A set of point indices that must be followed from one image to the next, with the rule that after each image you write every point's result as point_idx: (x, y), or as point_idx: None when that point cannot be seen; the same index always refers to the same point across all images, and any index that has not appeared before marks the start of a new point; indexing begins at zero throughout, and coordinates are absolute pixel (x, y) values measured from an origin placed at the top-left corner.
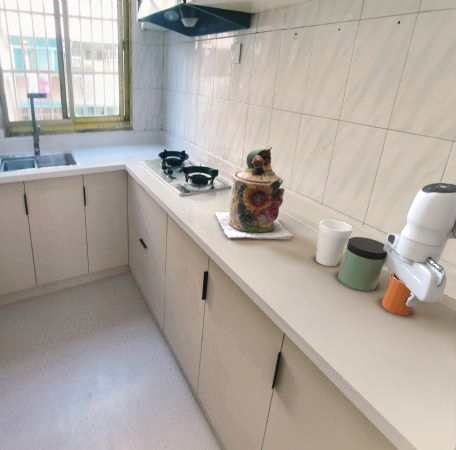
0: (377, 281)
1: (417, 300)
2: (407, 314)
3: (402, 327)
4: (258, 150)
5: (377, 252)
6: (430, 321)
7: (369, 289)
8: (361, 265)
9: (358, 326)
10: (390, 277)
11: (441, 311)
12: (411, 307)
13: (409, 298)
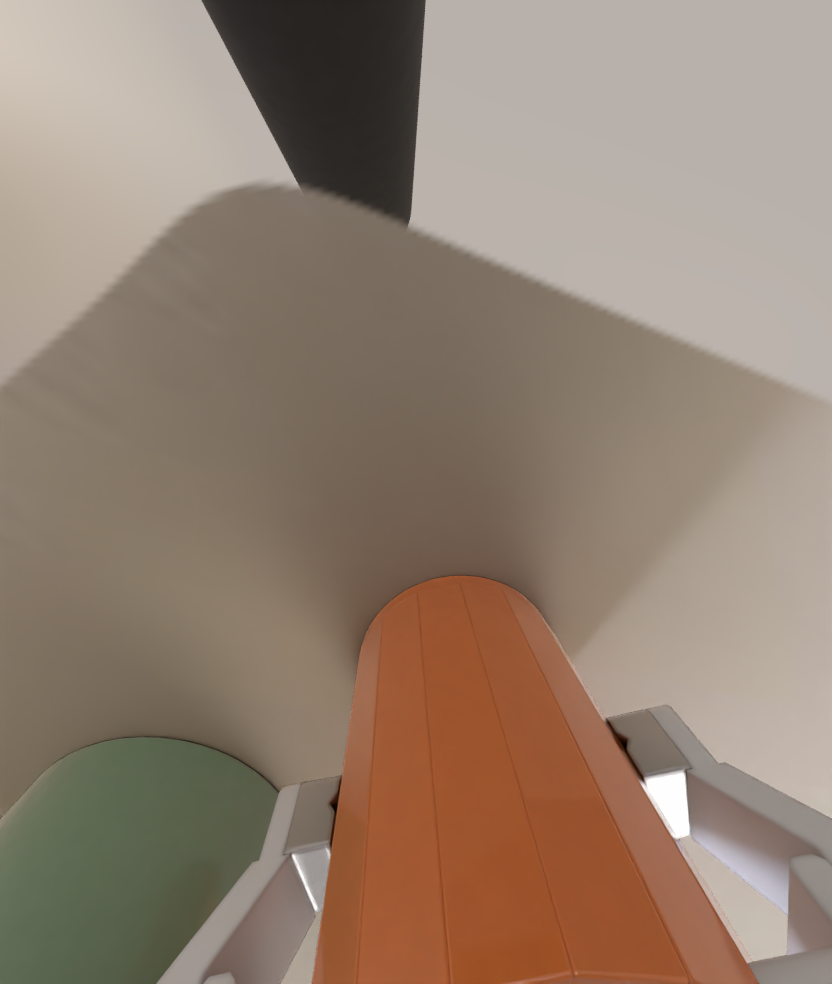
0: (179, 819)
1: (759, 790)
2: (539, 612)
3: (704, 673)
4: None
5: None
6: (572, 458)
7: (272, 799)
8: None
9: (746, 884)
10: (280, 982)
11: (360, 292)
12: (559, 646)
13: (741, 864)
